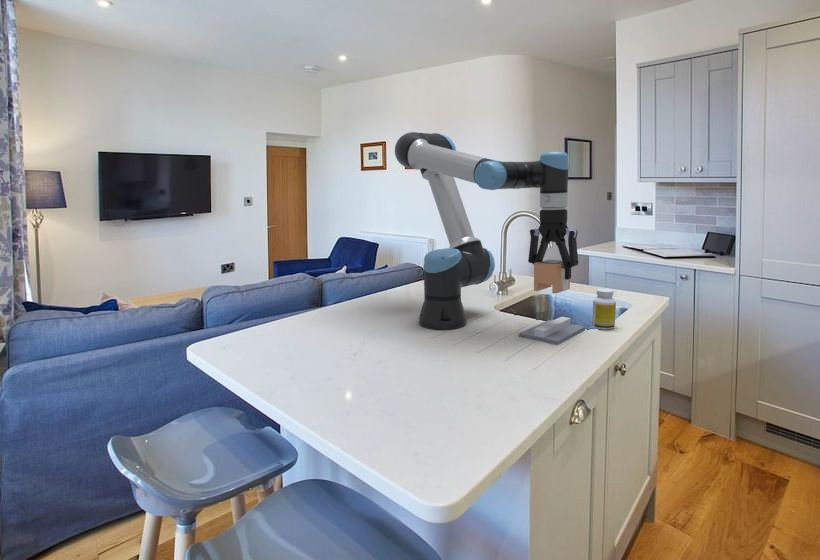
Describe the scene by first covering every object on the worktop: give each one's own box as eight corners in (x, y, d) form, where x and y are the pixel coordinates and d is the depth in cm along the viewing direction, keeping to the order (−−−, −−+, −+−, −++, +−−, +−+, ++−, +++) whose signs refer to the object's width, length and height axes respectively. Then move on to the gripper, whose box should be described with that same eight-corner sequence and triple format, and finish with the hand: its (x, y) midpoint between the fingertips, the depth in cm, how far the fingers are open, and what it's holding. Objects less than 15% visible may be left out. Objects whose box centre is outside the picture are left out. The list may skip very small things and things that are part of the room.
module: (533, 290, 144) (534, 262, 143) (547, 286, 150) (548, 258, 149) (556, 293, 140) (556, 263, 138) (569, 288, 145) (570, 260, 144)
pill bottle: (616, 330, 150) (618, 292, 147) (593, 330, 151) (595, 292, 149) (612, 324, 156) (614, 288, 154) (590, 324, 157) (592, 287, 155)
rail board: (519, 336, 146) (519, 326, 145) (548, 323, 159) (548, 313, 158) (557, 344, 138) (558, 334, 137) (585, 329, 151) (585, 320, 150)
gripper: (515, 209, 145) (515, 287, 149) (581, 209, 131) (578, 295, 135) (529, 208, 150) (528, 283, 154) (593, 208, 137) (591, 290, 141)
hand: (552, 288), depth 145 cm, fingers closed on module, 7 cm apart
